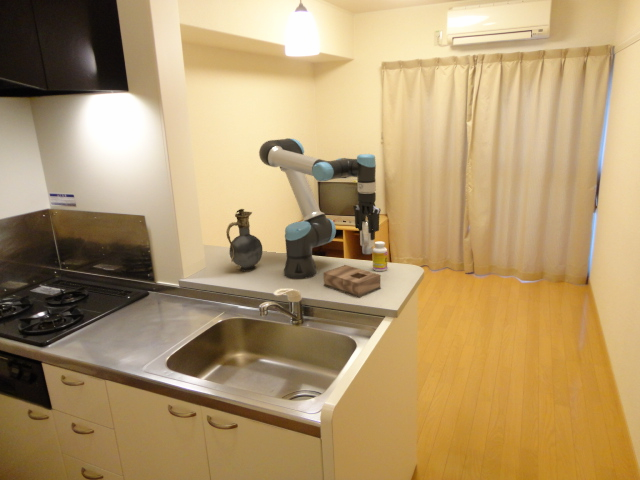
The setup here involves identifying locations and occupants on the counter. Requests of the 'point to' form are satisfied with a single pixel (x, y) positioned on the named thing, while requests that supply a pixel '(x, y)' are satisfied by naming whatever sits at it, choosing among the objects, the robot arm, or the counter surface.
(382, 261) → the supplement bottle
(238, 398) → the counter surface
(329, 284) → the socket block
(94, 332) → the counter surface
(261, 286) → the counter surface
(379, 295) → the counter surface
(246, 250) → the pitcher
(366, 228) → the pin
